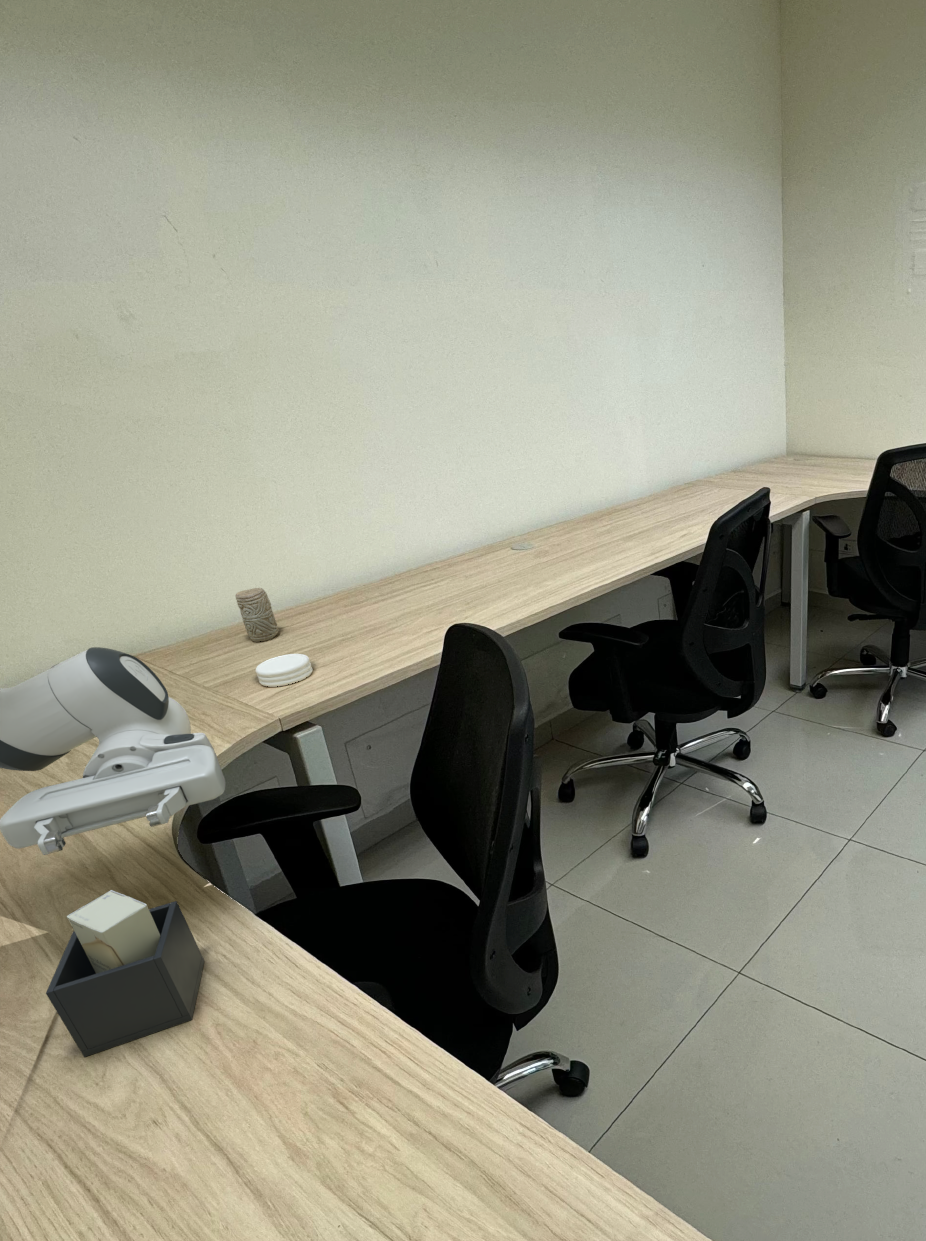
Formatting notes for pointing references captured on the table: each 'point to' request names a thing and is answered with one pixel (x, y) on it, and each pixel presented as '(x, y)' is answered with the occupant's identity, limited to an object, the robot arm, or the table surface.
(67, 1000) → the waste bin
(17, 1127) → the table surface
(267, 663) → the white ridged disc
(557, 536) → the table surface
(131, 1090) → the table surface
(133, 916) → the cosmetic box
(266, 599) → the carving
